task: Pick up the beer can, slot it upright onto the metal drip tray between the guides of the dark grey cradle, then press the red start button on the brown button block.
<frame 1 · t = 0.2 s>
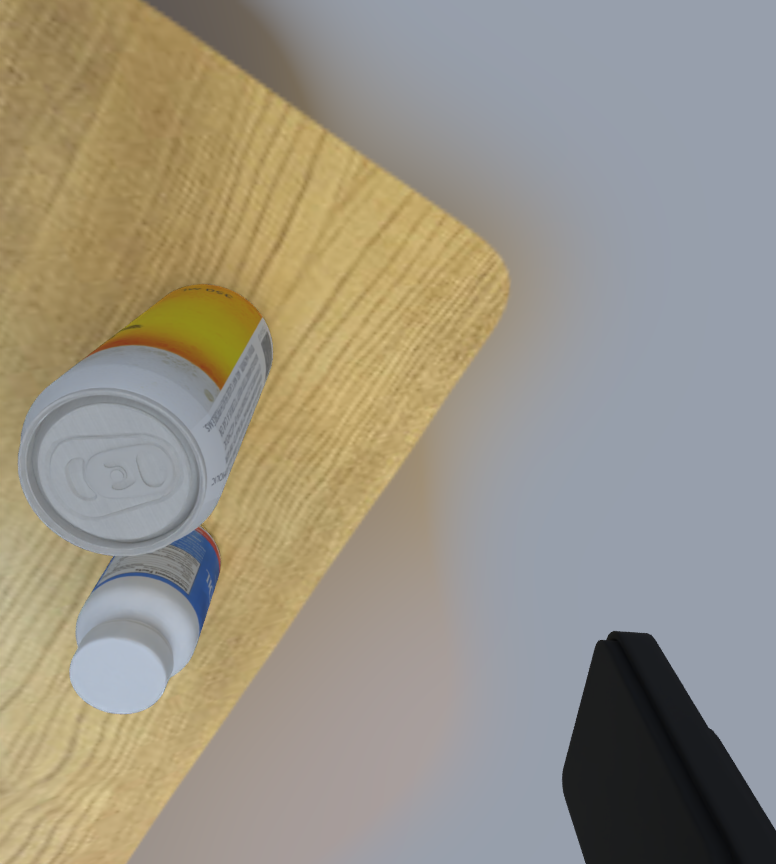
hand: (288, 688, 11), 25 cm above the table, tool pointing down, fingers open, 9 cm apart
pill bottle: (173, 553, 39), on the table
beer can: (212, 343, 35), on the table
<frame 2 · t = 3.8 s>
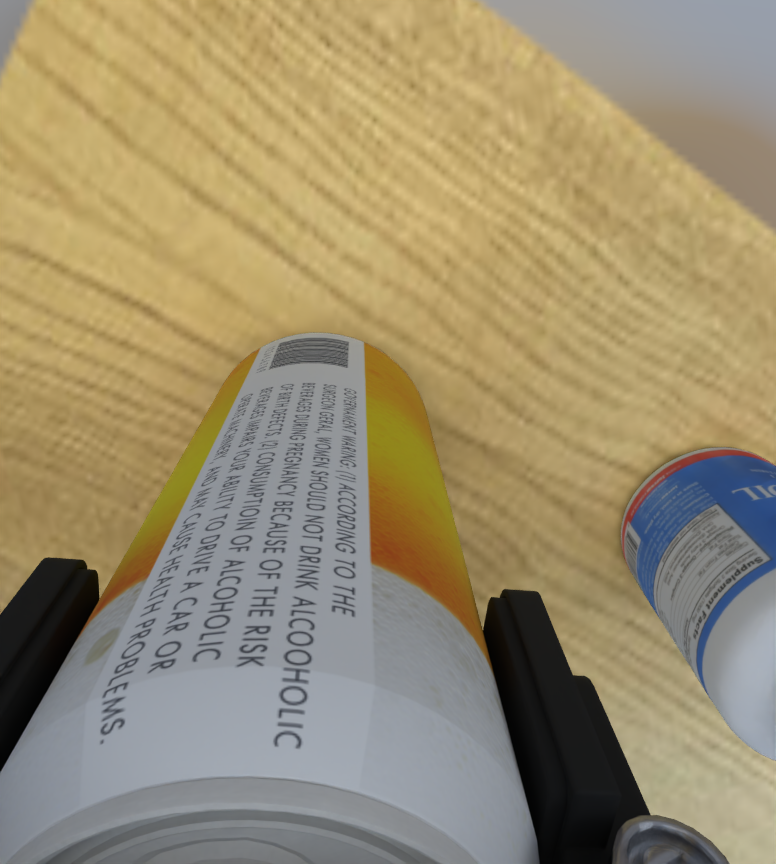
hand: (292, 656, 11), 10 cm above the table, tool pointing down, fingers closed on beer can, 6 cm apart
pill bottle: (697, 517, 22), on the table
beer can: (322, 425, 21), on the table, touching gripper
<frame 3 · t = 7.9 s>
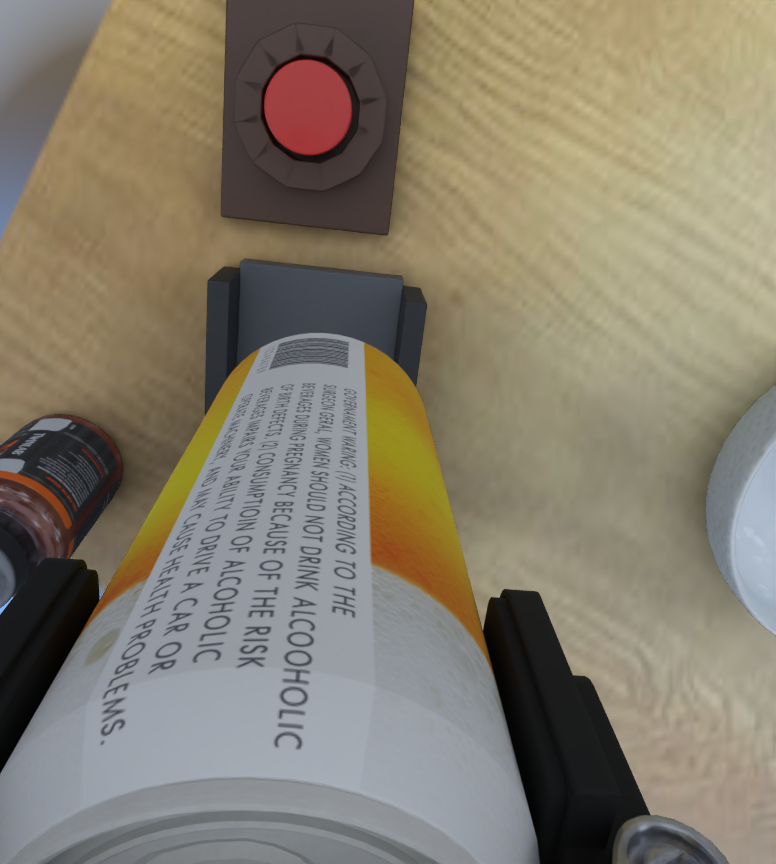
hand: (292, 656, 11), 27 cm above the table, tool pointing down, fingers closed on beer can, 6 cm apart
supplement bottle: (72, 459, 39), on the table
button block: (314, 113, 33), on the table
dark grey cradle: (309, 449, 39), on the table
start button: (309, 109, 30), point 3 cm above the table, slide at 0.1 cm
beer can: (322, 426, 21), point 17 cm above the table, touching gripper
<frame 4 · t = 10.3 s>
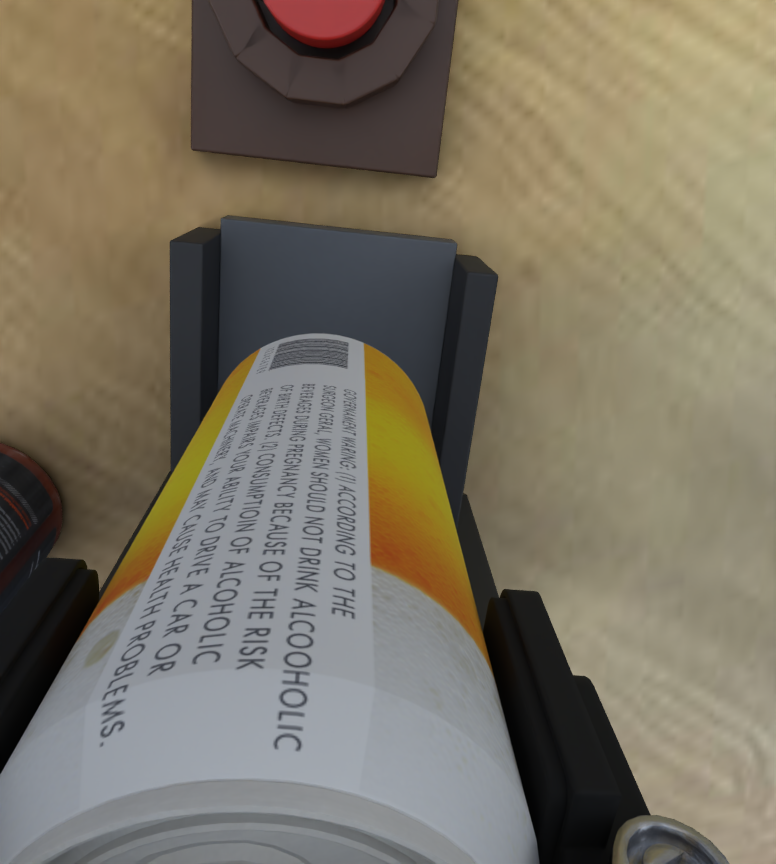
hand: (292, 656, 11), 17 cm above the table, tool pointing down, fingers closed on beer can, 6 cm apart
dark grey cradle: (320, 482, 29), on the table
beer can: (322, 426, 21), point 7 cm above the table, touching gripper
when the fingers open (11 cm above the table, at t = 12.1 s): beer can stays where it is, resting on dark grey cradle.
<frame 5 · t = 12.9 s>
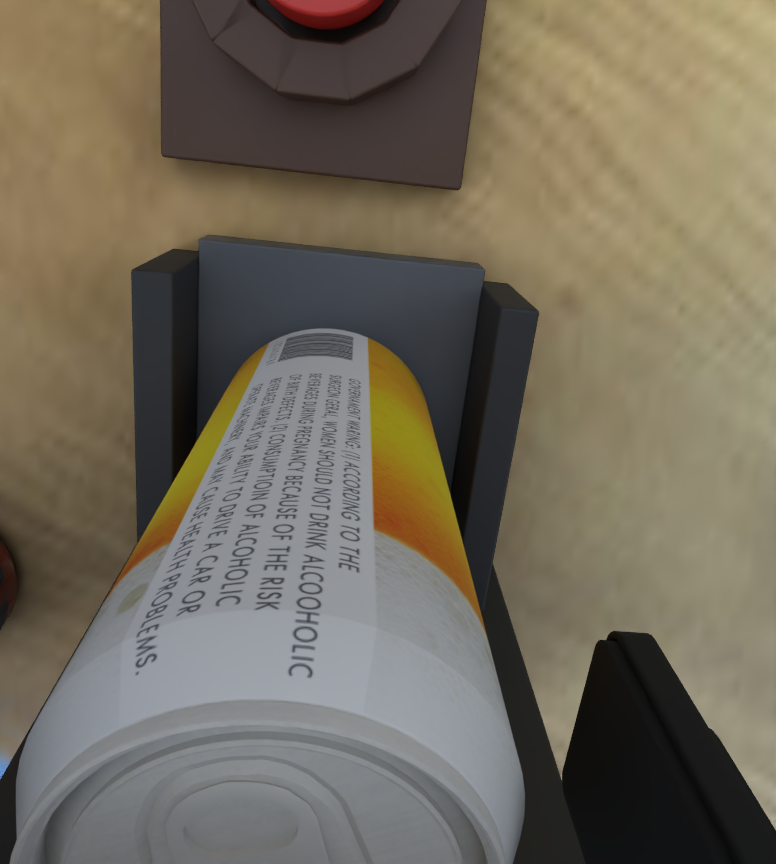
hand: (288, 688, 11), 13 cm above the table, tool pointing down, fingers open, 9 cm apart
dark grey cradle: (320, 545, 24), on the table
beer can: (327, 418, 22), point 1 cm above the table, touching dark grey cradle
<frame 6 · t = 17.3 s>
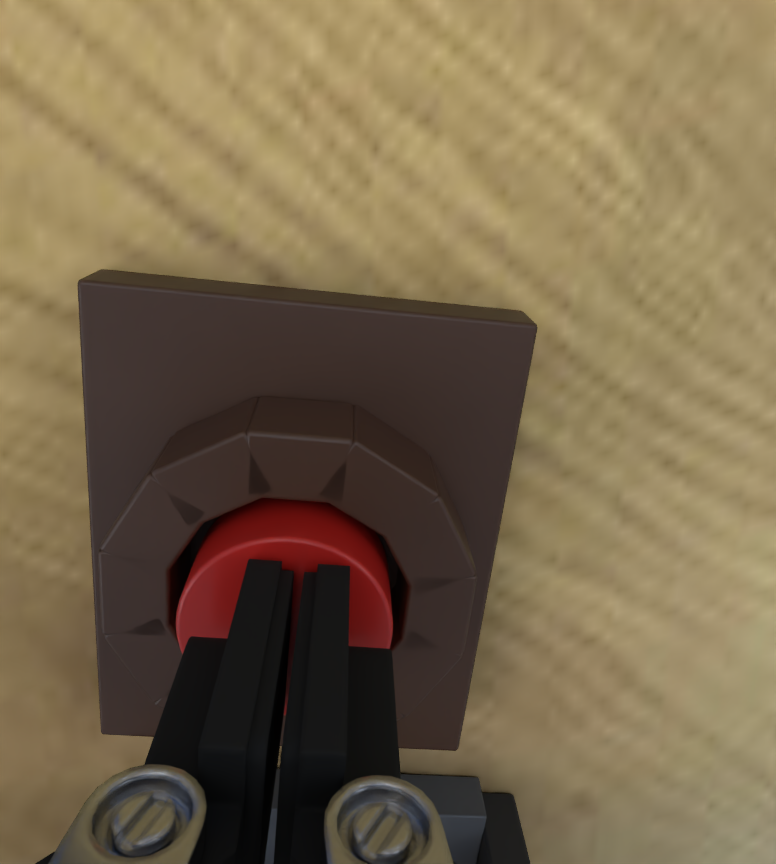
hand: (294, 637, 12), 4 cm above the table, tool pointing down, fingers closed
button block: (300, 522, 15), on the table
start button: (289, 601, 13), point 3 cm above the table, slide at -0.5 cm, touching gripper
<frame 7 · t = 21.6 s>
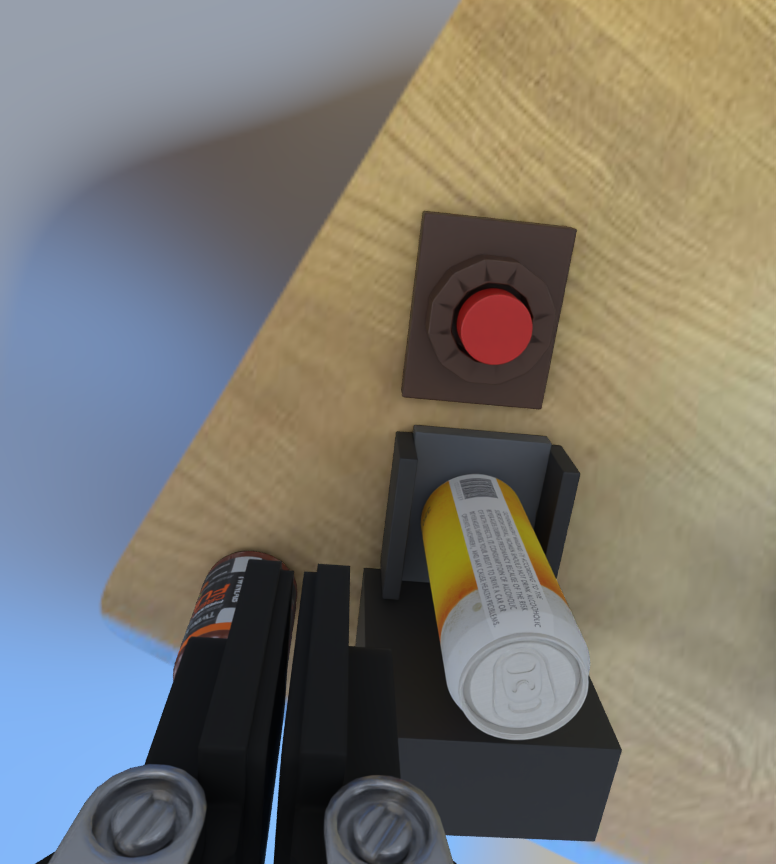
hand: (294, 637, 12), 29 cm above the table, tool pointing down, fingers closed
supplement bottle: (252, 585, 46), on the table
button block: (482, 311, 39), on the table
dark grey cradle: (456, 574, 46), on the table
start button: (493, 326, 36), point 3 cm above the table, slide at 0.1 cm
beer can: (469, 512, 43), point 1 cm above the table, touching dark grey cradle
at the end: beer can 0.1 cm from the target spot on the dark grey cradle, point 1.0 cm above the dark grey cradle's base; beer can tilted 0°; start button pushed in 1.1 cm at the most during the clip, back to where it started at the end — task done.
